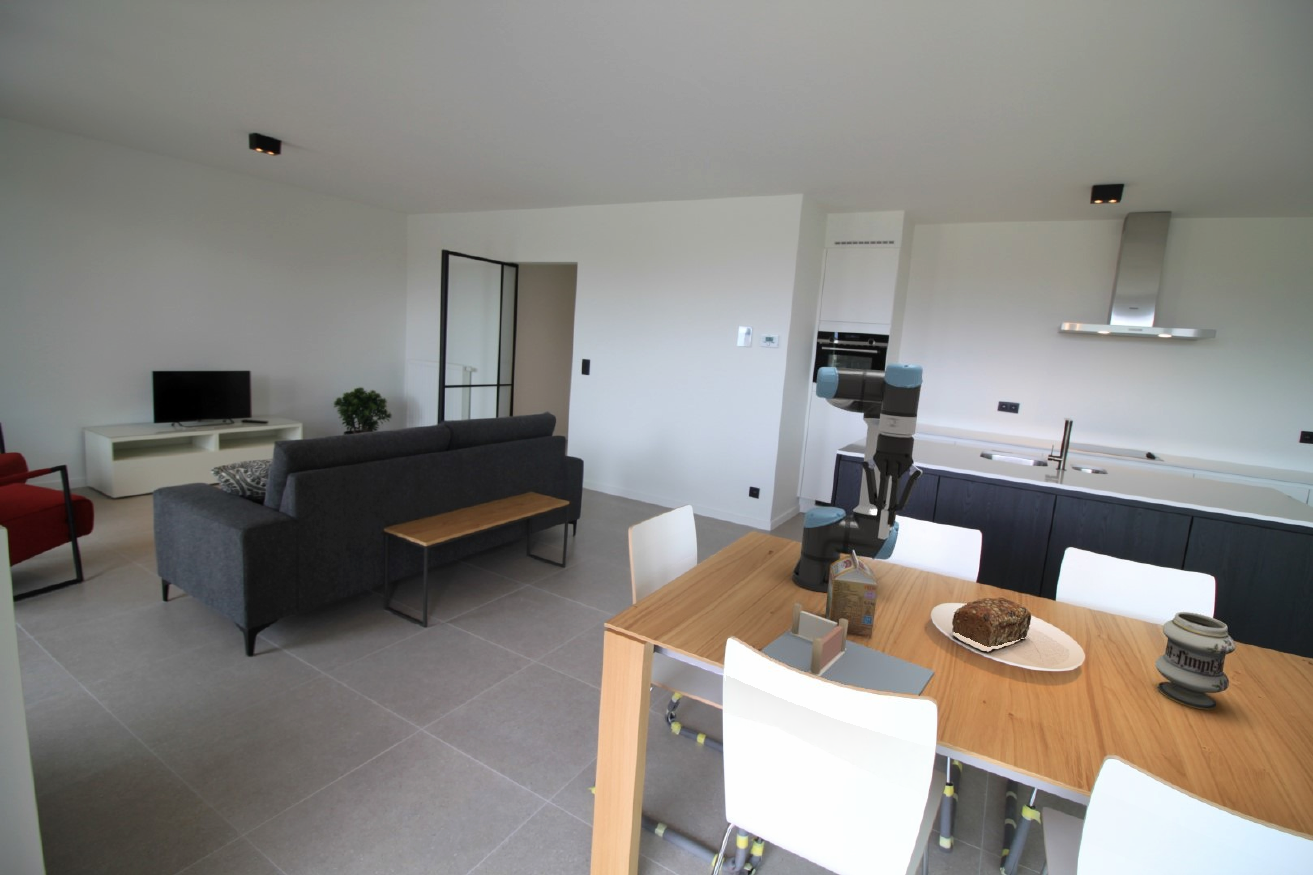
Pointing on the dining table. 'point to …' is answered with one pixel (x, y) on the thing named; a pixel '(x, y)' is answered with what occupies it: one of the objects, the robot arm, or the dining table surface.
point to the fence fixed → (815, 625)
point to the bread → (992, 621)
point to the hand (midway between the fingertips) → (883, 537)
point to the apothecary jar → (1194, 659)
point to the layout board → (853, 665)
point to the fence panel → (826, 649)
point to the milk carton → (852, 595)
